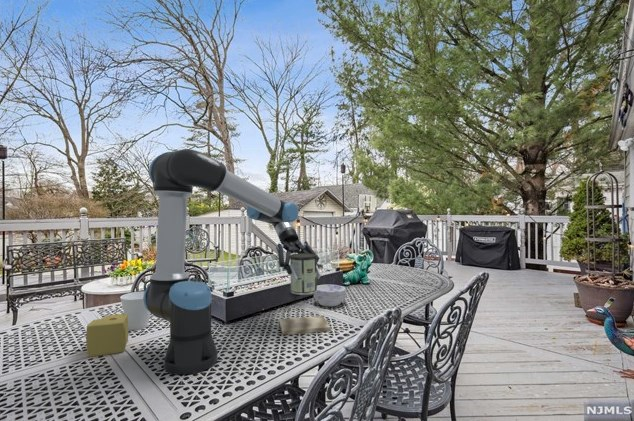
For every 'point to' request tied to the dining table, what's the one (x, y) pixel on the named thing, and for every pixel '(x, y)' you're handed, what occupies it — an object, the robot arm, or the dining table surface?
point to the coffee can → (304, 273)
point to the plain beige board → (304, 325)
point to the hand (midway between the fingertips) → (307, 278)
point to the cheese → (107, 335)
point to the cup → (135, 310)
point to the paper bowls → (330, 295)
